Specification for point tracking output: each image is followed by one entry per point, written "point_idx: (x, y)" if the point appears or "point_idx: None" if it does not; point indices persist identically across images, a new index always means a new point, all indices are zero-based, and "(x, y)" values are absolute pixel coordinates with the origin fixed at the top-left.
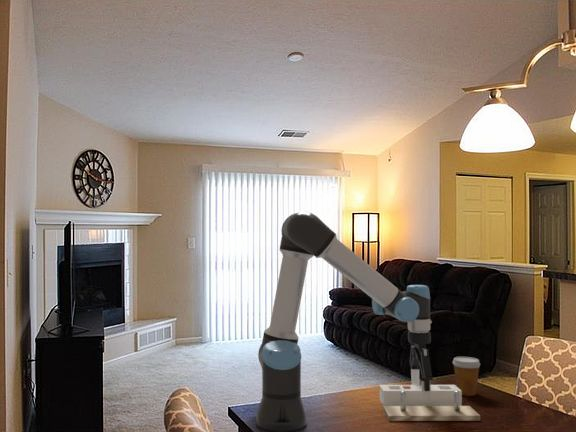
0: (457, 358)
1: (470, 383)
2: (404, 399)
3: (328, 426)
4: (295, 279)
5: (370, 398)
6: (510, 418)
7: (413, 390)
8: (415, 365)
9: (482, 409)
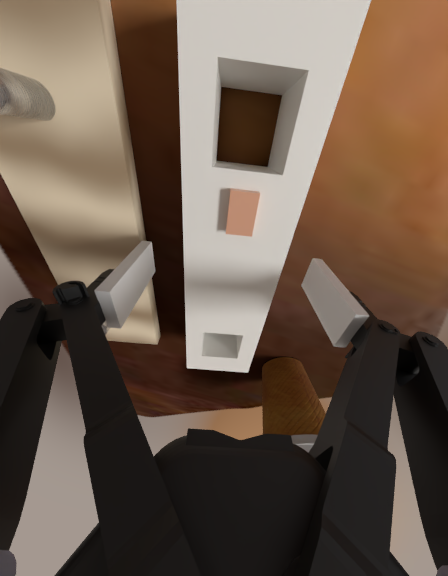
0: None
1: (263, 396)
2: None
3: None
4: None
5: None
6: (123, 370)
7: (188, 232)
8: (355, 354)
9: (171, 355)
